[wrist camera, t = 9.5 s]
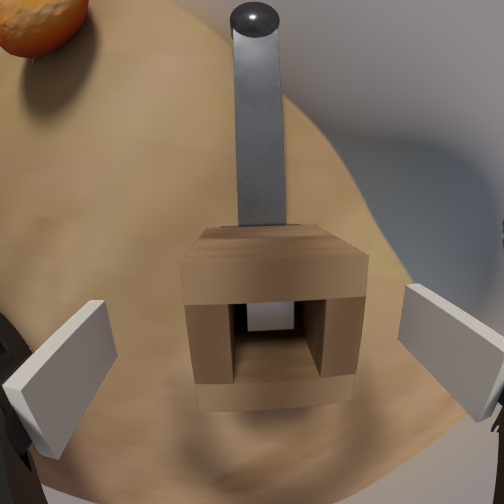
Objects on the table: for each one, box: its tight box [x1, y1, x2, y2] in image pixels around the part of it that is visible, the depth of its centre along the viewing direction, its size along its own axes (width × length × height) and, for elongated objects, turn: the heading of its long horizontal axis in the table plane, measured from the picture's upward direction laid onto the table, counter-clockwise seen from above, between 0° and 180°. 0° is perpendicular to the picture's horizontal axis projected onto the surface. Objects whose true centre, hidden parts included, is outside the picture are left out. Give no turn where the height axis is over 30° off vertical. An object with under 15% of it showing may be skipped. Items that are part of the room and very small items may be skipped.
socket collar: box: [180, 225, 369, 412], centre depth 15 cm, size 6×6×8 cm
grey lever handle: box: [221, 2, 300, 331], centre depth 16 cm, size 5×22×7 cm, turn 2°
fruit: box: [0, 0, 89, 65], centre depth 13 cm, size 8×8×8 cm
